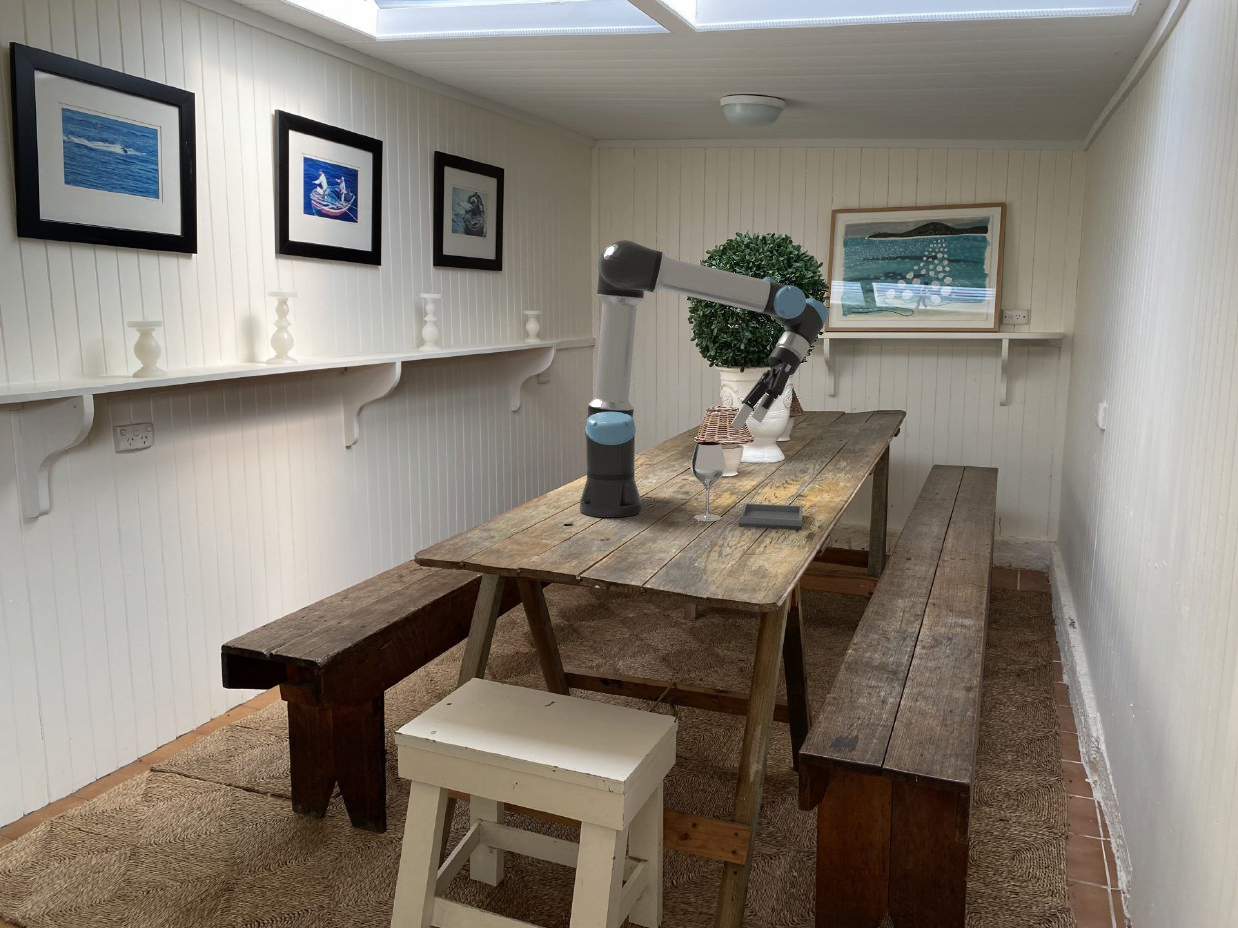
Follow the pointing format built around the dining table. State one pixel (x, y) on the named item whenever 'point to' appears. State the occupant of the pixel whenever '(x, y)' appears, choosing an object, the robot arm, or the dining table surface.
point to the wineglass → (708, 471)
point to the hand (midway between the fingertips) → (745, 423)
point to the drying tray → (771, 516)
